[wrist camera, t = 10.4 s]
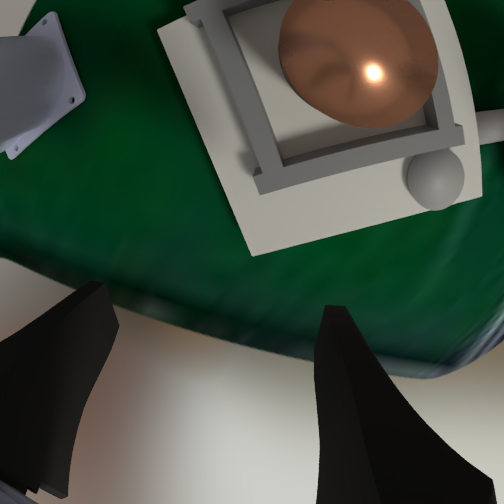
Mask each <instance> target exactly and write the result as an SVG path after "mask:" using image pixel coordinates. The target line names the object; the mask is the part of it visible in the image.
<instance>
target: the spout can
mask: <svg viewBox="0 0 504 504" xmlns="http://www.w3.org/2000/svg"><path fill="white" fill-rule="evenodd" d="M278 52H279V62H280V66H281V70H282V73H283V75H284V77H285V79H286V81H287V83H288V84H289V86H290V87H291V89H292V90H293V91H294V92H295V93H296V94H297V95H298V96H299V97H300V98H301V99H302V100H303V101H305V102H306V103H307V104H309V105H310V106H311V107H313V108H314V109H316V110H318V111H320V112H321V113H323V114H325V115H327V116H328V117H330V118H332V119H334V120H337V121H339V122H341V123H345V124H348V125H351V126H357V127H365V128H378V127H386V126H391V125H394V124H397V123H400V122H402V121H404V120H406V119H408V118H409V117H411V116H412V115H414V114H415V113H416V112H417V111H418V110H419V109H420V108H422V107H423V105H424V104H425V103H426V101H427V100H428V99H429V97H430V95H431V93H432V91H433V89H434V86H435V84H436V80H437V76H438V66H439V64H438V52H437V46H436V43H435V40H434V37H433V34H432V32H431V30H430V28H429V26H428V24H427V23H426V21H425V19H424V18H423V17H422V15H421V14H420V13H419V11H418V10H417V9H416V8H415V7H414V6H413V5H412V4H411V3H410V2H409V1H408V0H294V1H293V2H292V3H291V5H290V6H289V8H288V10H287V11H286V13H285V16H284V18H283V21H282V24H281V29H280V38H279V46H278Z"/></svg>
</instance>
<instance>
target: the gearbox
mask: <svg viewBox="0 0 504 504" xmlns="http://www.w3.org/2000/svg"><path fill="white" fill-rule="evenodd" d="M293 1H294V0H197V1H195V2H193V3H190V4H188V5H186V6H184V7H183V8H184V10H185V12H186V16H184V17H182V18H180V19H178V20H176V21H174V22H172V23H169V24H167V25H165V26H163V27H162V28H160V29H158V30H157V32H158V34H159V36H160V39H161V41H162V43H163V46H164V48H165V51H166V53H167V55H168V58H169V60H170V63H171V65H172V67H173V70H174V72H175V74H176V77H177V79H178V82H179V84H180V86H181V89H182V91H183V94H184V96H185V98H186V101H187V103H188V105H189V108H190V110H191V113H192V115H193V117H194V120H195V122H196V124H197V127H198V129H199V132H200V134H201V136H202V139H203V141H204V143H205V146H206V148H207V151H208V153H209V155H210V158H211V160H212V162H213V165H214V167H215V170H216V172H217V174H218V177H219V179H220V181H221V184H222V186H223V189H224V191H225V193H226V196H227V198H228V200H229V203H230V205H231V207H232V210H233V212H234V215H235V217H236V219H237V222H238V224H239V226H240V229H241V231H242V234H243V236H244V238H245V241H246V243H247V245H248V248H249V250H250V252H251V255H252V256H256V255H260V254H264V253H268V252H272V251H276V250H279V249H283V248H287V247H291V246H295V245H299V244H303V243H307V242H310V241H314V240H318V239H322V238H326V237H330V236H334V235H337V234H341V233H345V232H349V231H353V230H357V229H360V228H364V227H368V226H372V225H376V224H380V223H383V222H387V221H391V220H395V219H399V218H403V217H406V216H410V215H414V214H418V213H422V212H425V211H429V210H442V209H445V208H447V207H448V206H450V205H452V204H456V203H459V202H463V201H467V200H471V199H474V198H478V197H482V174H481V158H480V147H479V145H482V144H488V143H493V142H499V141H504V109H498V110H489V111H481V112H475V109H474V103H473V97H472V92H471V87H470V83H469V78H468V74H467V70H466V65H465V62H464V58H463V54H462V51H461V47H460V44H459V40H458V37H457V34H456V31H455V28H454V25H453V22H452V19H451V16H450V14H449V11H448V8H447V6H446V3H445V1H444V0H408V1H409V2H410V3H411V4H412V5H413V6H414V7H415V8H416V9H417V10H418V11H419V13H420V14H421V15H422V17H423V18H424V19H425V21H426V23H427V24H428V26H429V28H430V30H431V32H432V34H433V37H434V40H435V43H436V46H437V52H438V64H439V66H438V76H437V80H436V84H435V86H434V89H433V91H432V93H431V95H430V97H429V99H428V100H427V101H426V103H425V104H424V105H423V107H422V108H420V109H419V110H418V111H417V112H416V113H415V114H414V115H412V116H411V117H409V118H408V119H406V120H404V121H402V122H400V123H397V124H394V125H391V126H386V127H378V128H365V127H357V126H351V125H348V124H345V123H341V122H339V121H337V120H334V119H332V118H330V117H328V116H327V115H325V114H323V113H321V112H320V111H318V110H316V109H314V108H313V107H311V106H310V105H309V104H307V103H306V102H305V101H303V100H302V99H301V98H300V97H299V96H298V95H297V94H296V93H295V92H294V91H293V90H292V89H291V87H290V86H289V84H288V83H287V81H286V79H285V77H284V75H283V73H282V70H281V66H280V62H279V52H278V46H279V38H280V29H281V24H282V21H283V18H284V16H285V13H286V11H287V10H288V8H289V6H290V5H291V3H292V2H293Z"/></svg>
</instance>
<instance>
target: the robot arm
mask: <svg viewBox="0 0 504 504" xmlns="http://www.w3.org/2000/svg"><path fill="white" fill-rule="evenodd" d="M46 21H47V23H46ZM45 23H46V24H45ZM73 97H74V99H75V101H74V103H73V102H72V99H73ZM85 97H86V94H85V90H84V88H83V85H82V83H81V80H80V78H79V75H78V73H77V70H76V67H75V65H74V62H73V59H72V56H71V54H70V51H69V48H68V45H67V42H66V39H65V36H64V33H63V30H62V27H61V24H60V21H59V18H58V15H57V13H56V12H49V13H48V14H47V15H46V16H44V17H43V18H42V19H41V20H40V21H39V22H38V23H37V24H36V25H35V26H34V27H33V28H32V29H31V30H30V31H29V32H28V33H27V34H26V35H25V36H11V37H0V153H1V152H3V151H6V153H7V155H8V157H9V159H11V160H12V159H14V158H16V157H17V156H18V155H19V154H20V153H21V152H22V151H23V150H24V149H25V148H26V147H27V146H29V145H30V144H31V143H32V142H33V141H34V140H35V139H36V138H38V137H39V136H40V135H41V134H42V133H43V132H45V131H46V130H47V129H48V128H49V127H51V126H52V125H53V124H54V123H56V122H57V121H58V120H59V119H61V118H62V117H63V116H65V115H66V114H67V113H69V112H70V111H71V110H72V109H74V108H75V107H77V106H78V105H79V104H81V103H82V102H83V101H84V100H85ZM118 328H119V323H118V320H117V317H116V314H115V312H114V308H113V305H112V302H111V299H110V296H109V293H108V290H107V286H106V283H103V282H96V281H90V282H89V283H87V284H85V285H84V286H82V287H81V288H79V289H78V290H76V291H75V292H73V293H72V294H70V295H69V296H68V297H66V298H65V299H63V300H62V301H61V302H59V303H58V304H56V305H55V306H54V307H52V308H51V309H49V310H48V311H47V312H45V313H44V314H42V315H41V316H40V317H38V318H37V319H35V320H34V321H32V322H31V323H29V324H28V325H26V326H25V327H24V328H22V329H21V330H19V331H18V332H16V333H14V334H13V335H11V336H10V337H8V338H6V339H4V340H3V341H1V342H0V504H38V503H36V502H35V501H33V500H31V499H30V498H28V497H27V496H25V495H26V492H27V489H28V490H30V491H31V492H33V493H35V494H36V493H37V492H38V489H39V488H40V489H42V490H44V491H46V492H48V493H50V494H52V495H54V496H56V497H58V498H60V499H63V498H65V497H67V496H68V484H69V483H68V482H69V472H70V464H71V457H72V451H73V446H74V442H75V438H76V433H77V429H78V426H79V423H80V419H81V416H82V413H83V409H84V407H85V404H86V402H87V399H88V397H89V395H90V393H91V390H92V388H93V386H94V384H95V382H96V380H97V378H98V376H99V374H100V372H101V370H102V368H103V366H104V364H105V362H106V360H107V357H108V355H109V353H110V351H111V349H112V346H113V343H114V341H115V338H116V334H117V331H118ZM314 382H315V392H316V402H317V414H318V425H319V438H320V458H319V476H318V489H317V500H316V504H497V501H496V495H495V489H494V484H493V480H492V479H491V478H490V477H488V476H487V475H485V474H484V473H483V472H481V471H480V470H478V469H477V468H476V467H474V466H473V465H471V464H470V463H469V462H467V461H466V460H465V459H464V458H463V457H461V456H460V455H459V454H458V453H457V452H456V451H454V450H453V449H452V448H451V447H450V446H449V445H448V444H447V443H445V441H444V440H442V438H440V436H439V435H438V434H437V433H435V432H434V431H433V430H432V428H431V427H429V426H428V425H427V424H426V422H425V421H424V420H423V419H422V418H421V417H420V416H419V414H418V413H417V412H416V411H415V410H414V409H413V408H412V406H411V405H410V404H409V403H408V401H407V400H406V399H405V398H404V396H403V395H402V394H401V393H400V392H399V390H398V389H397V387H396V386H395V385H394V383H393V382H392V380H391V379H390V377H389V376H388V375H387V373H386V372H385V370H384V369H383V367H382V366H381V364H380V363H379V361H378V360H377V358H376V357H375V355H374V353H373V352H372V350H371V349H370V347H369V346H368V344H367V342H366V341H365V339H364V337H363V336H362V334H361V332H360V331H359V329H358V327H357V325H356V324H355V322H354V320H353V318H352V317H351V315H350V313H349V311H348V310H347V308H346V307H345V306H333V305H325V309H324V313H323V317H322V321H321V325H320V329H319V333H318V337H317V340H316V344H315V348H314Z"/></svg>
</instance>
